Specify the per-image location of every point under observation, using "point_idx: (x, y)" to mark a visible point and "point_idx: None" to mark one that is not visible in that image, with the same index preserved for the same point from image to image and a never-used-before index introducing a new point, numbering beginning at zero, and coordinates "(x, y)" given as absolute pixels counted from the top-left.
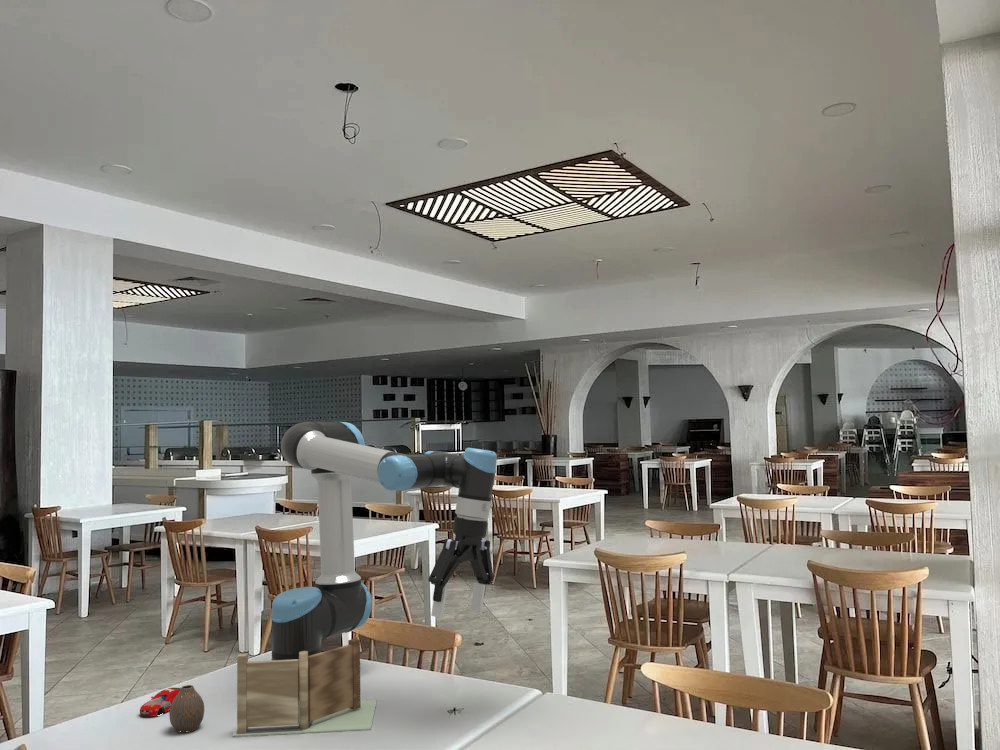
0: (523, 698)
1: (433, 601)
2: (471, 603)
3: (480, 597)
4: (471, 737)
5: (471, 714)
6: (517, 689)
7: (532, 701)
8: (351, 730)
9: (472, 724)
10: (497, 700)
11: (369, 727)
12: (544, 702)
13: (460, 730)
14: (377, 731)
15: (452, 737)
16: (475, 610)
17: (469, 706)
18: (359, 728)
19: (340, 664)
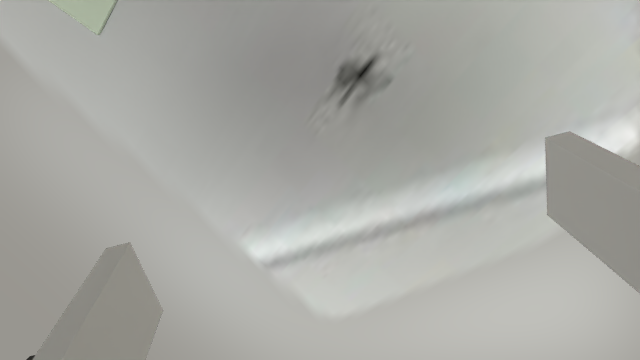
0: None
1: (63, 314)
2: (580, 161)
3: (628, 269)
4: (275, 250)
5: (371, 138)
6: (628, 71)
7: None
8: (52, 2)
9: (327, 193)
10: (504, 104)
11: (96, 27)
12: None
13: (281, 202)
14: (111, 58)
15: (241, 220)
16: (556, 186)
17: (410, 84)
18: (71, 13)
19: None
